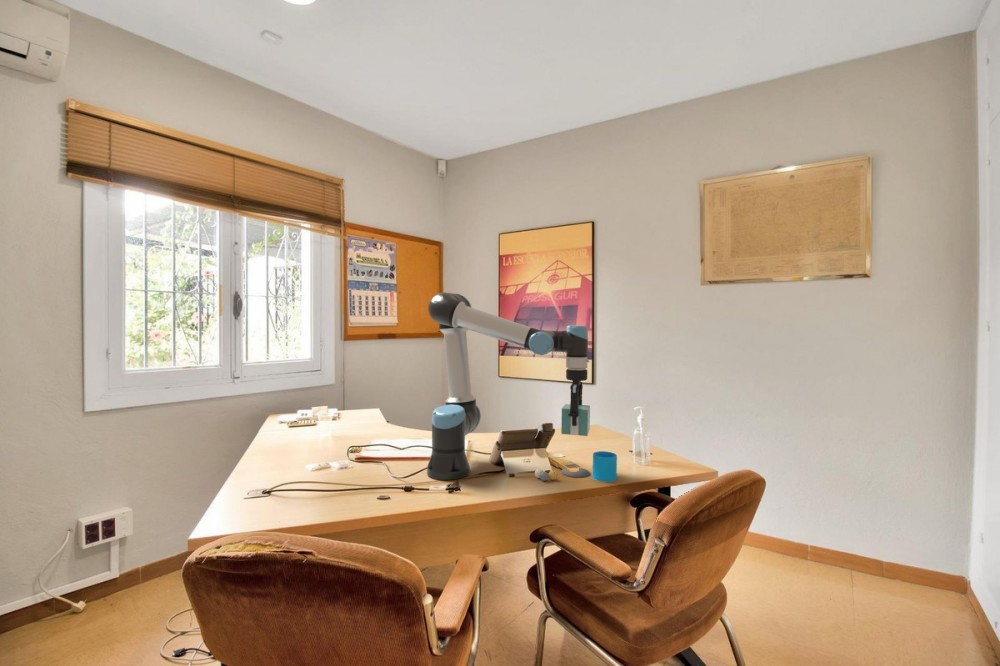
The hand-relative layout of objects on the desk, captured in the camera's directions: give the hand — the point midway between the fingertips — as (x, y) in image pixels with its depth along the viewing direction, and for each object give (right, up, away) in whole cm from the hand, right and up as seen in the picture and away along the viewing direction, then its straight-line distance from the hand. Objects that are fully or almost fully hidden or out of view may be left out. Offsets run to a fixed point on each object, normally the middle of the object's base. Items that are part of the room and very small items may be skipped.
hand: (576, 431), depth 167 cm
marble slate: (-12, -15, -7) cm, 21 cm away
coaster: (0, -15, +1) cm, 15 cm away
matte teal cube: (0, 0, 0) cm, 0 cm away
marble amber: (-9, -15, -6) cm, 19 cm away
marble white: (-12, -13, -4) cm, 19 cm away
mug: (+9, -15, -2) cm, 18 cm away
